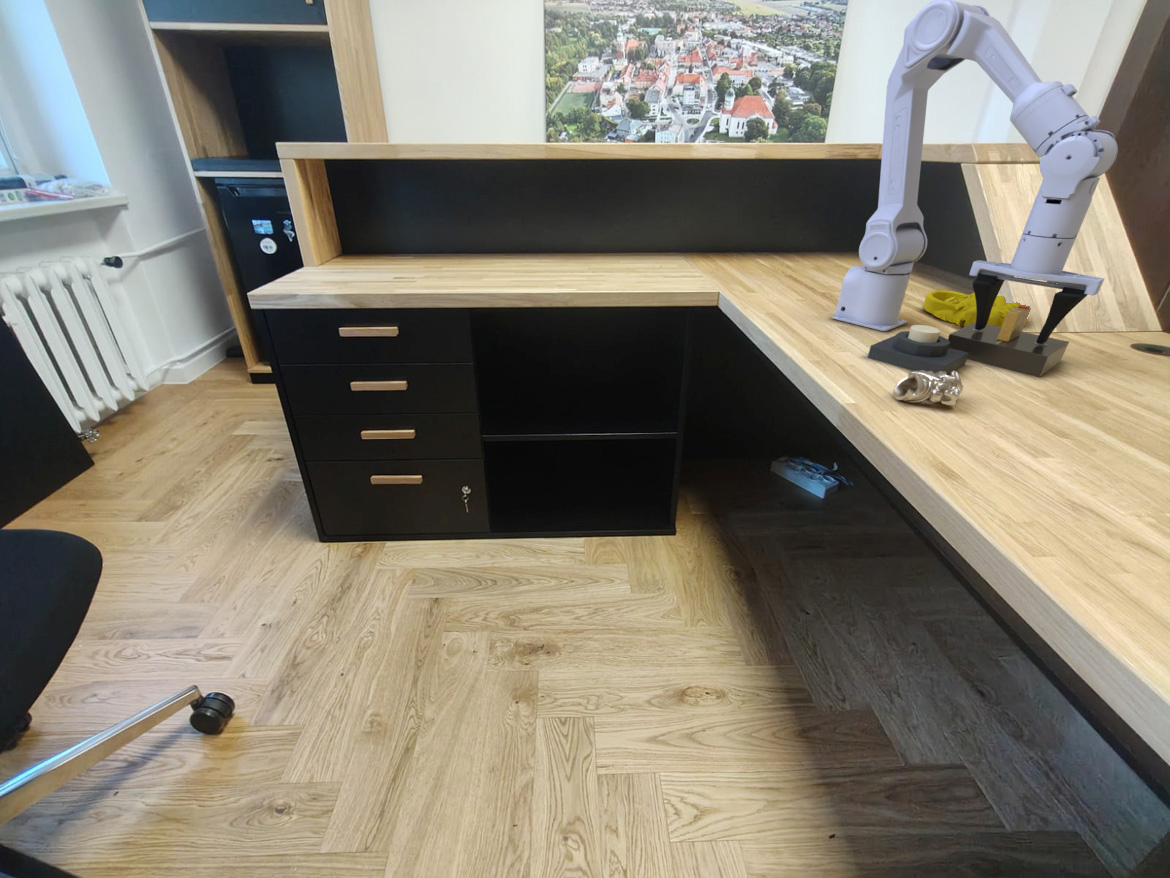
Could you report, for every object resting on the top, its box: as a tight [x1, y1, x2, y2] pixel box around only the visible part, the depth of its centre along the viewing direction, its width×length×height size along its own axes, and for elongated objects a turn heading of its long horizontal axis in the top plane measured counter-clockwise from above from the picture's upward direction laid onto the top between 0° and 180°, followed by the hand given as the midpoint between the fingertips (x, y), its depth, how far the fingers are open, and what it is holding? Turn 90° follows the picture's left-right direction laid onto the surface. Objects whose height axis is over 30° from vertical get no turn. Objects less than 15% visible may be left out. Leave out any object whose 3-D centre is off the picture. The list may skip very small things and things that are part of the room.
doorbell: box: [867, 330, 969, 376], centre depth 78 cm, size 10×8×4 cm
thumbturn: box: [997, 304, 1032, 342], centre depth 78 cm, size 5×1×4 cm, turn 129°
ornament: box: [892, 370, 964, 406], centre depth 66 cm, size 8×7×4 cm
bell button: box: [908, 324, 941, 343], centre depth 77 cm, size 4×4×2 cm
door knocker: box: [922, 289, 1030, 328], centre depth 99 cm, size 16×16×4 cm
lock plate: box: [947, 322, 1070, 378], centre depth 80 cm, size 12×10×3 cm
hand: (1009, 335), depth 79 cm, fingers open, 7 cm apart
